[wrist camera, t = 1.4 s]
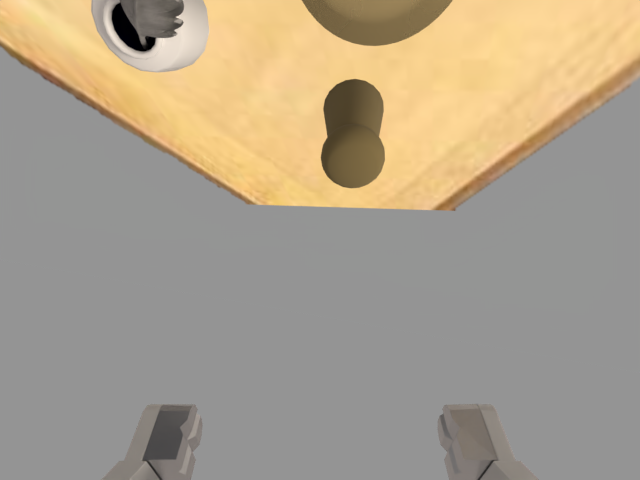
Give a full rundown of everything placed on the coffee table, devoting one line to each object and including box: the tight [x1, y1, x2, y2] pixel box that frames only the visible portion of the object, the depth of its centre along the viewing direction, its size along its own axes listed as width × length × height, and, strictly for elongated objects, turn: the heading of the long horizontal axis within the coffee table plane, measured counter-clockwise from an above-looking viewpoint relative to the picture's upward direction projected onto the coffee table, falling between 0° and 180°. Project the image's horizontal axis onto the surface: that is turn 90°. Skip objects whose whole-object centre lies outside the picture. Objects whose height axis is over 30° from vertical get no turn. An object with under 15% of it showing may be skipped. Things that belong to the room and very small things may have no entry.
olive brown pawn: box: [321, 79, 385, 188], centre depth 33 cm, size 6×6×11 cm
